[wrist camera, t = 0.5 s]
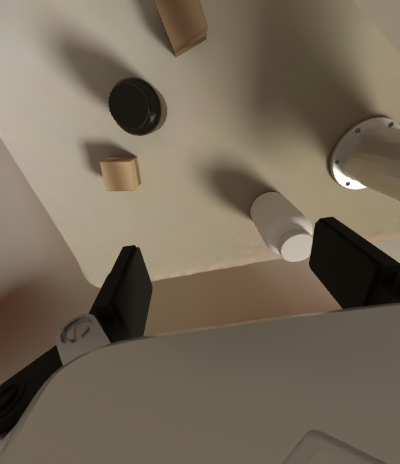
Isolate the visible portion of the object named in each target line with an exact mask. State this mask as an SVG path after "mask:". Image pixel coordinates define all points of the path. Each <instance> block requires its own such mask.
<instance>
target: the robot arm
mask: <svg viewBox="0 0 400 464" xmlns="http://www.w3.org/2000/svg"><path fill="white" fill-rule="evenodd" d="M330 171H331V175H332V177H333V179H334V180H335V181H336V182H337V183H338V184H339V185H341V186H343V187H345V188H349V189H362V188H366V187H368V188H370V189H373V190H375V191H378V192H380V193H382V194H385V195H387V196H390V197H392V198H394V199H397V200H399V201H400V124H399V123H397V122H396V121H395V120H393V119H390V118H385V117H375V118H370V119H367V120H364V121H361V122H360V123H358V124H356V125H354V126H353V127H352V128H351V129H349V130H348V131H347V132H346V133H345V134H344V135H343V136H342V137H341V139H340V140H339V141H338V143H337V144H336V146H335V148H334V150H333V153H332V156H331V160H330ZM309 265H310V268H311V270H312V271H313V272H314V274H315V275H316V276H317V277H318V278H319V280H320V281H321V282H322V284H323V285H324V286H325V287H326V288H327V290H328V291H329V292H330V293H331V295H332V296H333V297H334V298H335V300H336V301H337V302H338V303H339V304H340V306H341V307H342V308H343V309H340V310H332V311H324V312H316V313H308V314H300V315H293V316H286V317H278V318H270V319H263V320H255V321H248V322H241V323H233V324H226V325H219V326H212V327H204V328H198V329H190V330H183V331H176V332H170V333H163V334H156V335H150V336H144V337H143V334H144V330H145V324H146V320H147V315H148V310H149V304H150V300H151V295H152V284H151V280H150V277H149V274H148V271H147V269H146V266H145V263H144V260H143V257H142V254H141V251H140V248H139V247H137V248H136V246H135V245H132V246H125V247H123V248H122V250H121V252H120V254H119V256H118V258H117V260H116V262H115V264H114V266H113V268H112V270H111V272H110V274H109V275H108V276H107V278H106V280H105V282H104V284H103V286H102V288H101V290H100V292H99V294H98V296H97V298H96V300H95V302H94V304H93V306H92V308H91V310H90V312H89V314H82V315H79V316H76V317H74V318H72V319H71V320H70V321H68V322H67V323H66V324H65V325H64V326H63V327H62V328H61V329H60V330H59V332H58V333H57V336H56V346H54V347H53V348H52V349H50V350H49V351H47V352H46V353H45V354H43V355H42V356H40V357H39V358H38V359H36V360H35V361H33V362H32V363H31V364H29V365H28V366H26V367H25V368H24V369H22V370H21V371H19V372H18V373H17V374H15V375H14V376H13V377H11V378H10V379H8V380H7V381H5V382H4V383H3V384H2V385H1V386H0V464H400V263H398V262H397V261H396V260H394V259H393V258H391V257H390V256H388V255H387V254H386V253H384V252H383V251H381V250H380V249H378V248H377V247H375V246H374V245H372V244H371V243H370V242H368V241H367V240H366V239H364V238H363V237H361V236H360V235H358V234H357V233H355V232H354V231H353V230H351V229H350V228H348V227H347V226H345V225H344V224H343V223H341V222H340V221H338V220H337V219H335V218H334V217H327V218H320V219H319V220H318V222H316V223H315V228H314V235H313V241H312V247H311V254H310V260H309Z"/></svg>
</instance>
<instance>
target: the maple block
mask: <svg viewBox="0 0 400 464" xmlns="http://www.w3.org/2000/svg"><path fill="white" fill-rule="evenodd" d="M100 166H101V170H102V175H103V179H104V184H105V188H106V191H135V190H136V189H137V187H138V186H139V185H140V184H141V180H140V173H139V165H138V158H137V157H108V158H106V159H104V160H102V161H100Z"/></svg>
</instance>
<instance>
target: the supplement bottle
mask: <svg viewBox="0 0 400 464" xmlns="http://www.w3.org/2000/svg"><path fill="white" fill-rule="evenodd" d="M108 103H109V108H110V112H111V115H112V116H113V118H114V120H115V121H116V122H117V124H118V125H119V126H120V127H121V128H122V129H123V130H124V131H126V132H128V133H130V134H132V135H137V136H142V135H147V134H149V133H152V132H154V131H156V130H158V129H159V128H161V126H162V125H163V124H164V122H165V120H166V116H167V106H166V102H165V100H164V98H163V96H162V95H161V93H160V92H159V91H158V90H157V89H156V88H154V87H153V86H152V85H150V84H149V83H148V82H146V81H144V80H142V79H140V78H136V77H127V78H124V79H122V80H120V81H119V82H118V83H117V84H116V85H115V86H114V88H113V89H112V92H111V93H110V96H109V101H108Z"/></svg>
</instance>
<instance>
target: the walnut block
mask: <svg viewBox="0 0 400 464" xmlns="http://www.w3.org/2000/svg"><path fill="white" fill-rule="evenodd" d="M154 2H155V5H156V8H157V10H158V13H159V16H160V19H161V21H162V24H163V26H164V29H165V31H166V34H167V36H168V39H169V41H170V44H171V46H172V49H173V51H174V54H175V56H176V57H177V56H179V55H181V54H182V53H184V52H186V51H187V50H189V49H191V48H192V47H194V46H196V45H197V44H199V43H201V42H202V41H204V40H206V35H207V28H208V26H207V23H206V20H205V17H204V14H203V11H202V8H201V5H200V2H199V0H154Z"/></svg>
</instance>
